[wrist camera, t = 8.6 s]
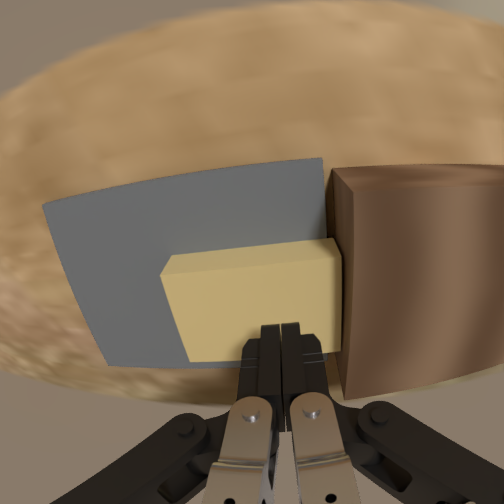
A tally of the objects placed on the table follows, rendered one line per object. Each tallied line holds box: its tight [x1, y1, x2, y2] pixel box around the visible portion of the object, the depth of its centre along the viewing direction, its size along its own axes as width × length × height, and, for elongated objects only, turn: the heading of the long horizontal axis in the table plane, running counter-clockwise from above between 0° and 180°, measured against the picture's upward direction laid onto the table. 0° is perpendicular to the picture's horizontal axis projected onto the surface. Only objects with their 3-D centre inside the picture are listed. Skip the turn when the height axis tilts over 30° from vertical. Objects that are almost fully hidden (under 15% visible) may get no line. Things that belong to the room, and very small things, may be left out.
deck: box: [332, 164, 504, 400], centre depth 14 cm, size 16×11×4 cm
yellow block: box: [160, 238, 342, 362], centre depth 16 cm, size 8×6×2 cm
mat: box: [42, 158, 328, 368], centre depth 17 cm, size 15×12×1 cm
